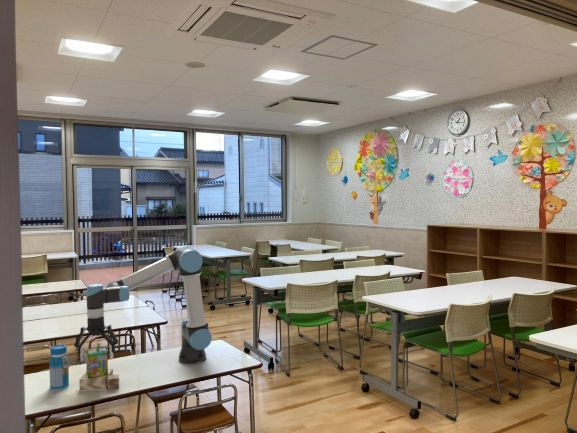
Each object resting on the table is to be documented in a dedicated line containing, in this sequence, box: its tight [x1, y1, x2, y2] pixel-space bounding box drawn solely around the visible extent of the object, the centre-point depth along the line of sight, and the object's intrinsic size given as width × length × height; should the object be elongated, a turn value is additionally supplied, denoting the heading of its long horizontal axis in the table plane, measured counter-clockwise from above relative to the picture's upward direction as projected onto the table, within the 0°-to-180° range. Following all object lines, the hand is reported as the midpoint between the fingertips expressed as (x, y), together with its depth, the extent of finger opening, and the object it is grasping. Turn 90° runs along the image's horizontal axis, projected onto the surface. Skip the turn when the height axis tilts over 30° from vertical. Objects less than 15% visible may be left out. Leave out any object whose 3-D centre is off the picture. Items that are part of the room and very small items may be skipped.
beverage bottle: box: [48, 344, 70, 391], centre depth 212 cm, size 8×8×20 cm
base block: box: [78, 368, 114, 390], centre depth 215 cm, size 12×12×5 cm
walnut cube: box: [107, 373, 120, 391], centre depth 211 cm, size 5×5×5 cm
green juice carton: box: [85, 342, 109, 378], centre depth 215 cm, size 9×9×15 cm
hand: (97, 359), depth 215 cm, fingers open, 13 cm apart
